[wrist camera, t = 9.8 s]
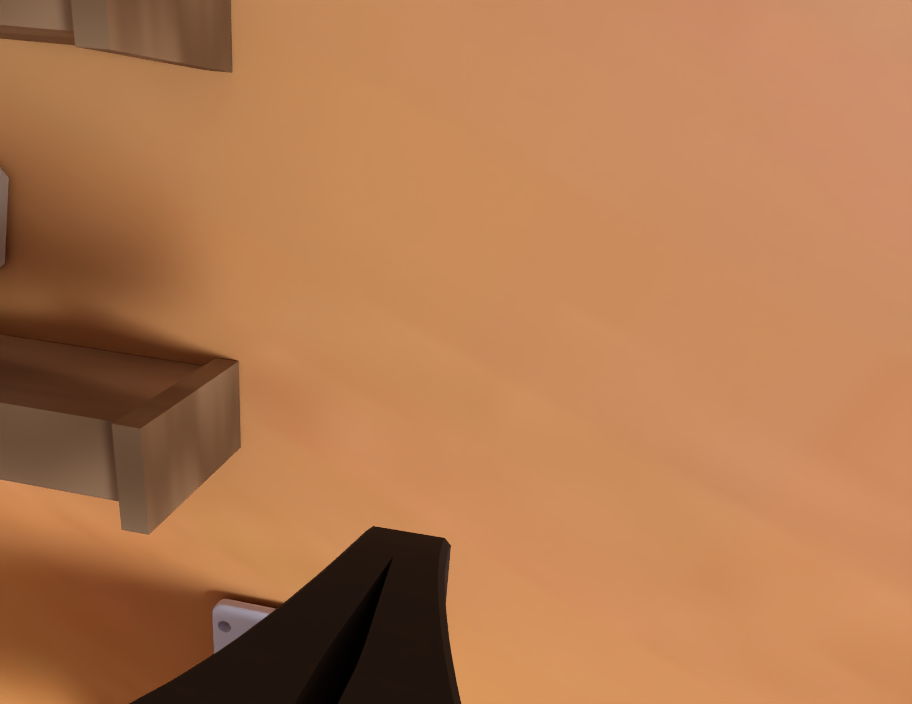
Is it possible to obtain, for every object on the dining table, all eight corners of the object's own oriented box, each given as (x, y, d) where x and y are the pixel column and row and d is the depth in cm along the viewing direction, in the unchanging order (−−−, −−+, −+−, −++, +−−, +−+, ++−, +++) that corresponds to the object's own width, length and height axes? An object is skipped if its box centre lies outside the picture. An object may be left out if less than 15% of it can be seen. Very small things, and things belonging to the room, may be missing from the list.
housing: (240, 447, 22) (148, 535, 17) (-16, 404, 23) (-169, 473, 19) (229, -57, 17) (95, -134, 12) (-98, -79, 18) (-336, -156, 14)
